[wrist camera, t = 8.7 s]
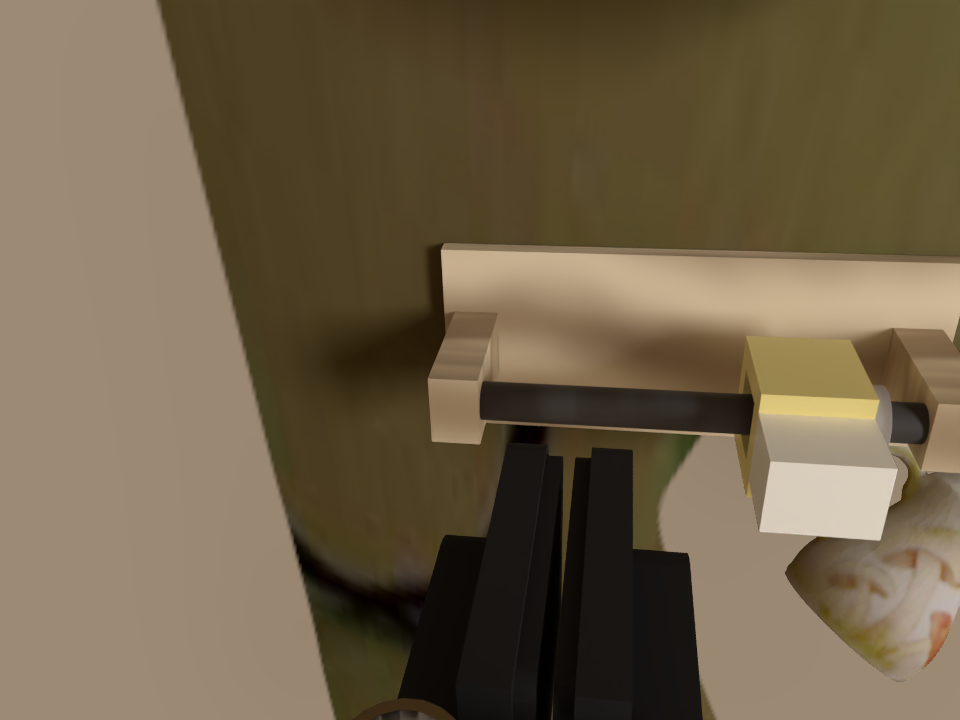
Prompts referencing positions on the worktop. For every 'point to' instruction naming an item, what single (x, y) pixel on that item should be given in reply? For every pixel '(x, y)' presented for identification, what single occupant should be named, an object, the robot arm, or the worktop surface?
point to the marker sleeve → (813, 440)
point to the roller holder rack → (686, 338)
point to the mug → (891, 576)
